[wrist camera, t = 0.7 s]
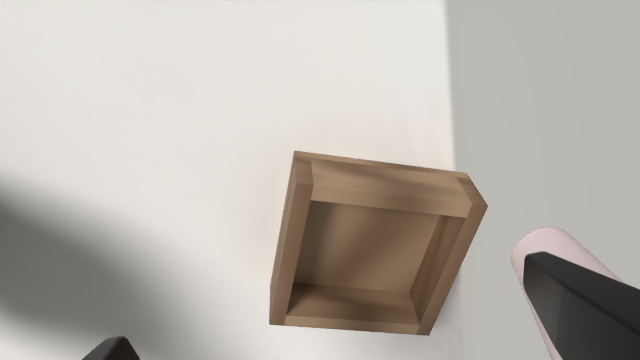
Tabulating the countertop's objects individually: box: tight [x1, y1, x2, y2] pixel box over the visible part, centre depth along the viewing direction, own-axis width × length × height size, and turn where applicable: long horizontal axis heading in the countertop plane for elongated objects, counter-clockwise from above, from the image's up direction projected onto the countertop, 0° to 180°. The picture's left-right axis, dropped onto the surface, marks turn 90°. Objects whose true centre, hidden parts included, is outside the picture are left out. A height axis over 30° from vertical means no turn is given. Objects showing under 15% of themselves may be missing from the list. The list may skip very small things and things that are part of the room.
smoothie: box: [511, 227, 624, 360], centre depth 22 cm, size 6×6×14 cm
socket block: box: [269, 151, 488, 336], centre depth 25 cm, size 9×9×3 cm
